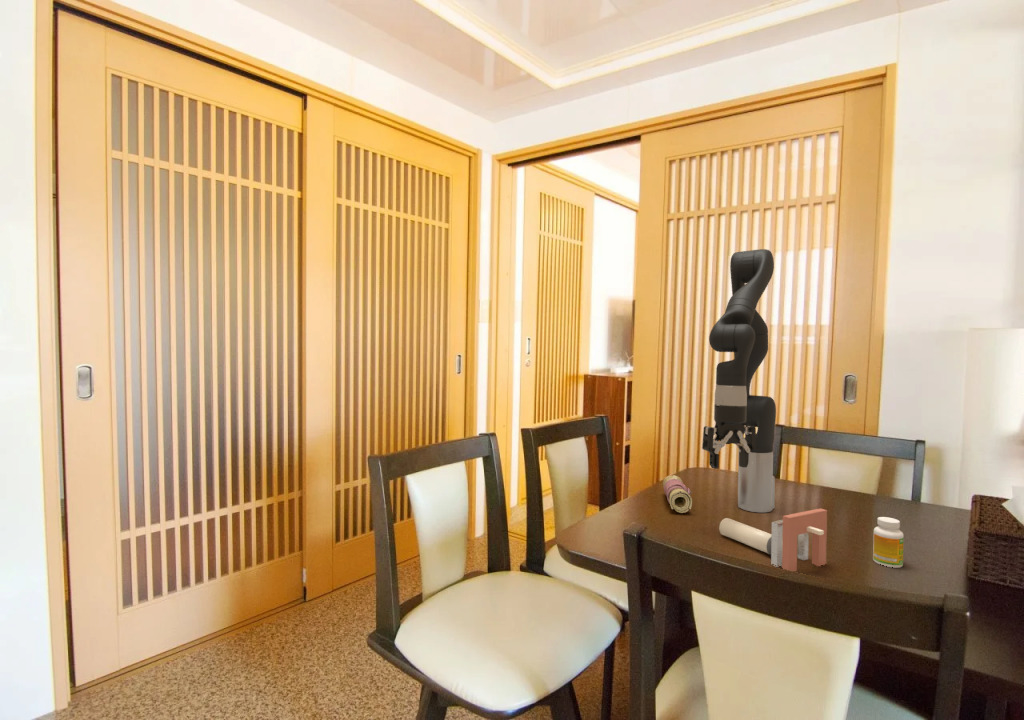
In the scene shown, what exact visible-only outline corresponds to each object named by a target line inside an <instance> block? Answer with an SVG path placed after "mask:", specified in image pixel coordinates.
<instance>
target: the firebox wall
mask: <svg viewBox="0 0 1024 720" xmlns="http://www.w3.org/2000/svg"><path fill="white" fill-rule="evenodd" d="M782 520H783V530H782V538H783V548H782V566H781V568H783V569H787V570H791V571H798V565H797V564H798V535H800V534H804V533H812V545H811V548H812V551H811V552H812V553H811V555H812V557H811V564H812V565H813V564H814V566H816V567H818V566H819V567H822V566H821V565H823V566H826V565H827V537H828V536H827V535H828V534H827V533H828V530H827V529H828V527H827V526H828V525H827V524H828V510H827V509H824V508H821V507H820V508H816V509H811V510H804V511H801V512H795V513H790V514H786V515H783V516H782ZM825 564H826V565H825Z"/></svg>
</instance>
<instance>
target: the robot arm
mask: <svg viewBox="0 0 1024 720" xmlns="http://www.w3.org/2000/svg"><path fill="white" fill-rule="evenodd" d="M729 264H730V265H729V268H730V269H729V270H730V272H729V273H730V281H731V282H730V283H731V291H732V294H731V297H730V298H729V300H728V301H727V305H726V308H725V311H724V313H723V314H722V315H721V316H720V318H719V319H718V320H717V321H716V323H715V324H714V325H713V327H712V328H711V330H710V332H709V336H708V340H709V345H710V347H711V348H712V350H714V351H715V352H719V353H733V354H734V355H733V356H734V357H733V359H732V360H726V361H721V362H719V363H717V365H716V369H715V370H716V371H715V374H716V376H715V390H714V409H713V410H714V411H713V412H714V413H713V414H714V415H713V420H714V422H715V424H714V427H712V426H707V425H705V426H704V427H703V431H702V432H703V433H702V447H701V448H702V450H703V451H706V452H708V454H709V466H710V468H711V469H714V470H718V469H719V467H720V454H719V452H720V451H721V450H722V449H723V448H724V447H725V445H731V444H734V445H735V446H737V448H738V464H737V465H738V469H737V470H738V471H737V472H738V473H737V475H738V477H737V480H738V481H737V507H738V508H739V509H741V510H744V511H748V512H752V513H770V512H772V511H773V509H775V502H776V500H775V499H776V497H775V496H776V495H775V493H776V492H775V491H776V486H775V485H776V478H775V476H774V475H773V474H774V443H775V430H776V416H777V406H776V405H777V404H776V403H775V402H776V401H775V400H774V398H772V397H771V396H767V395H754V394H750V389H751V382H752V379H753V377H754V375H755V373H756V372H757V370H758V369H759V367H760V366H761V364H762V363H763V361H764V359H765V358H766V357H767V354H768V352H769V329H768V326H767V323H766V321H765V320H764V319H763V317H762V316H761V315H760V312H758V310H757V306H758V304H759V301H760V299H761V297H762V296H763V294H764V292H765V291H766V289H767V287H768V285H769V283H770V281H771V279H772V277H773V274H774V270H775V261H774V256H773V253H772V251H771V250H769V249H765V248H762V249H761V248H760V249H752V250H742V251H737V252H733V254H732V256H731V258H730V263H729ZM756 428H757V429H756Z"/></svg>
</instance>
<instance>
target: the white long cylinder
mask: <svg viewBox="0 0 1024 720" xmlns="http://www.w3.org/2000/svg"><path fill="white" fill-rule="evenodd" d="M718 527H719V528H718V529H719V533H720V534H721V535H722V536H724V537H727V538H729V539H732V540H734V541H737V542H739V543H742V544H744V545H746V546H748V547H751V548H753V549H756V550H759V551H761V552H763V553H765V554H768V555H769V556H771V538H772V533H769V532H766V531H764V530H761V529H758V528H757V527H753V526H750V525H747V524H746V523H742V522H739V521H737V520H734V519H731V518H729V517H725V518H723V519H722V520H721V521H720V522H719V526H718ZM782 548H783V537H782Z"/></svg>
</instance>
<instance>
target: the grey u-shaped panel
mask: <svg viewBox="0 0 1024 720" xmlns="http://www.w3.org/2000/svg"><path fill="white" fill-rule="evenodd" d="M809 533H810V532H809ZM809 533H804V534H800V535H797V559H799V560H802V561H808V560H809ZM771 534H772V538H771V555H770V558H771V559H770V563H771V564H770V565H771V566H773V567H775V568H780V567H779V566H781V567H782V538H783V519H779V520H775V521H771ZM772 564H774V565H772ZM775 565H776V566H775ZM778 565H779V566H778Z"/></svg>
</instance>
